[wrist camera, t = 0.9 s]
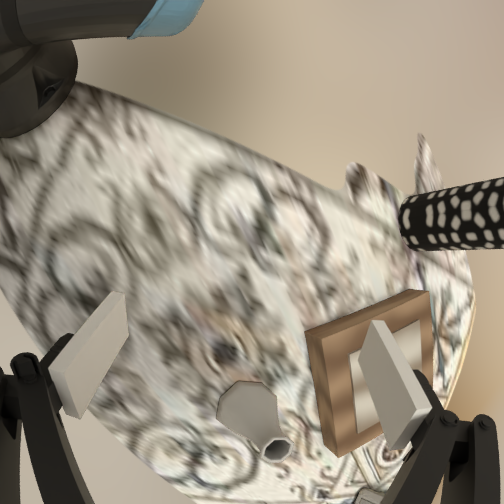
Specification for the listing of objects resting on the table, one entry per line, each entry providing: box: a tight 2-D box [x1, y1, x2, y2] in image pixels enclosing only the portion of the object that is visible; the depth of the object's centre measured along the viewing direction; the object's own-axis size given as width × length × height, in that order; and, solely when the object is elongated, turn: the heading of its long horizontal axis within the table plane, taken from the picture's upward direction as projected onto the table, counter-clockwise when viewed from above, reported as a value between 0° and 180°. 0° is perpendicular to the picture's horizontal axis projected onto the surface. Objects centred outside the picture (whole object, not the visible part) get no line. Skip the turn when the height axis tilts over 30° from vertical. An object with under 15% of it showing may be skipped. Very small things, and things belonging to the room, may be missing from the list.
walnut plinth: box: [305, 289, 433, 458], centre depth 37 cm, size 18×18×4 cm
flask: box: [216, 381, 294, 463], centre depth 29 cm, size 7×7×10 cm
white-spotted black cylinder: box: [399, 177, 504, 251], centre depth 33 cm, size 8×8×20 cm
